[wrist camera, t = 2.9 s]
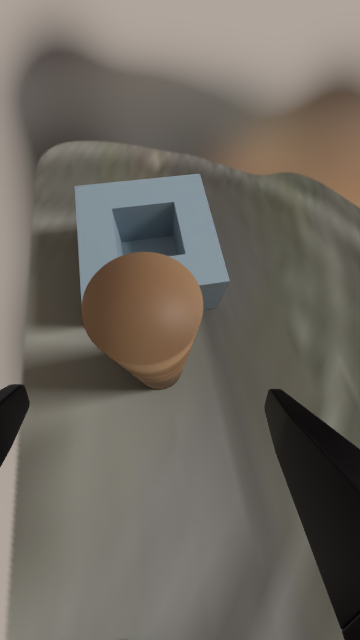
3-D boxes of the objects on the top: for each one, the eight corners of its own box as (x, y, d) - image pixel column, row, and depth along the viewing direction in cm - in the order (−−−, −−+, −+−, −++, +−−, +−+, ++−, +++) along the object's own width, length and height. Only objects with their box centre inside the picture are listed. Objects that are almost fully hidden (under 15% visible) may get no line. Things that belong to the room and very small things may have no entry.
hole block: (216, 308, 21) (229, 280, 17) (101, 326, 20) (81, 302, 16) (193, 218, 24) (199, 173, 20) (93, 229, 23) (74, 186, 19)
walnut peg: (164, 399, 19) (155, 391, 6) (128, 372, 19) (54, 316, 7) (190, 361, 20) (225, 291, 7) (155, 336, 20) (133, 233, 8)
